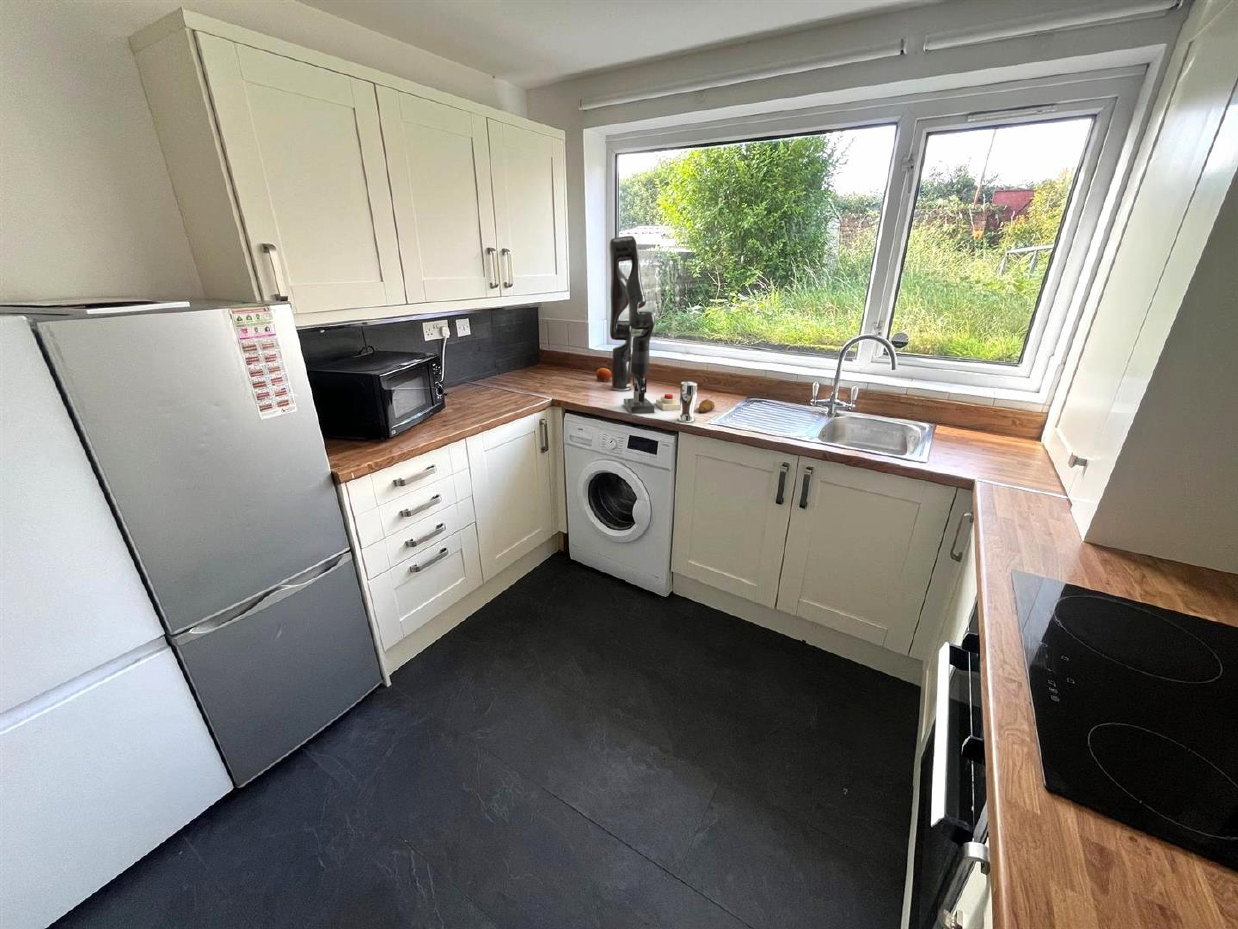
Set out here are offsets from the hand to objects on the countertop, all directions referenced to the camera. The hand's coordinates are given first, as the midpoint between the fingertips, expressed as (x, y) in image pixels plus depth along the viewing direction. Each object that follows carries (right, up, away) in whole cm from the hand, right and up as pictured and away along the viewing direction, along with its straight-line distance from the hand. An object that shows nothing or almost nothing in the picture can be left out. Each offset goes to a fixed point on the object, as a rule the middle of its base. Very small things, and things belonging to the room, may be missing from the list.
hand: (638, 399), depth 213 cm
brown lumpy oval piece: (+30, -5, +2) cm, 30 cm away
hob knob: (0, -1, 0) cm, 1 cm away
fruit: (-17, +17, +53) cm, 58 cm away
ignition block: (+13, -2, +6) cm, 15 cm away
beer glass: (+19, -10, -12) cm, 25 cm away
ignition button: (+13, +1, +5) cm, 14 cm away
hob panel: (0, -4, +2) cm, 4 cm away
